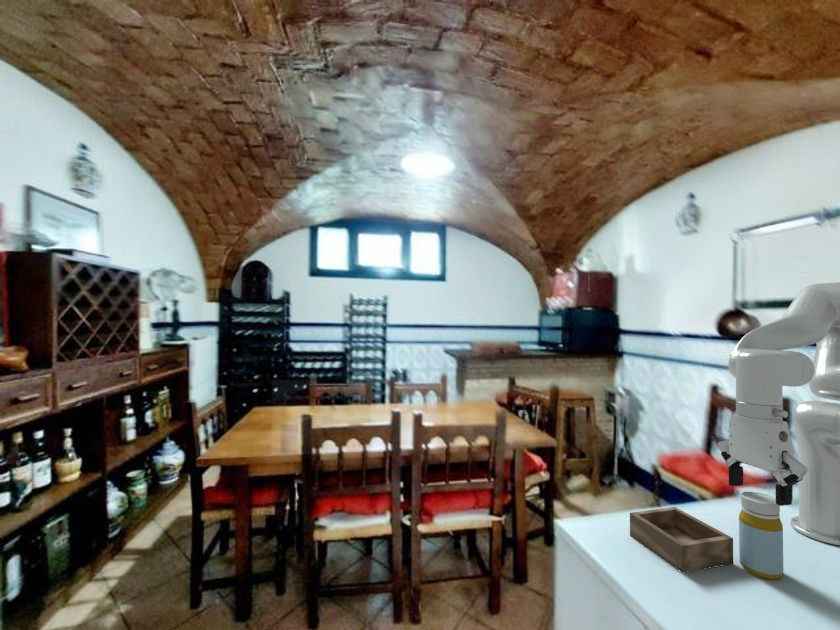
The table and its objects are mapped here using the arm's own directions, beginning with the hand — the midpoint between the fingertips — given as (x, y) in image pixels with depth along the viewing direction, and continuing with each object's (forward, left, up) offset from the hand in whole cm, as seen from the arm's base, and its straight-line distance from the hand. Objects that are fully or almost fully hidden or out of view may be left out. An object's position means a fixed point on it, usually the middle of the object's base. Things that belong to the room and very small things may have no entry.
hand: (758, 494), depth 86 cm
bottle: (-1, 0, -16) cm, 16 cm away
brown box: (+9, -11, -16) cm, 21 cm away
